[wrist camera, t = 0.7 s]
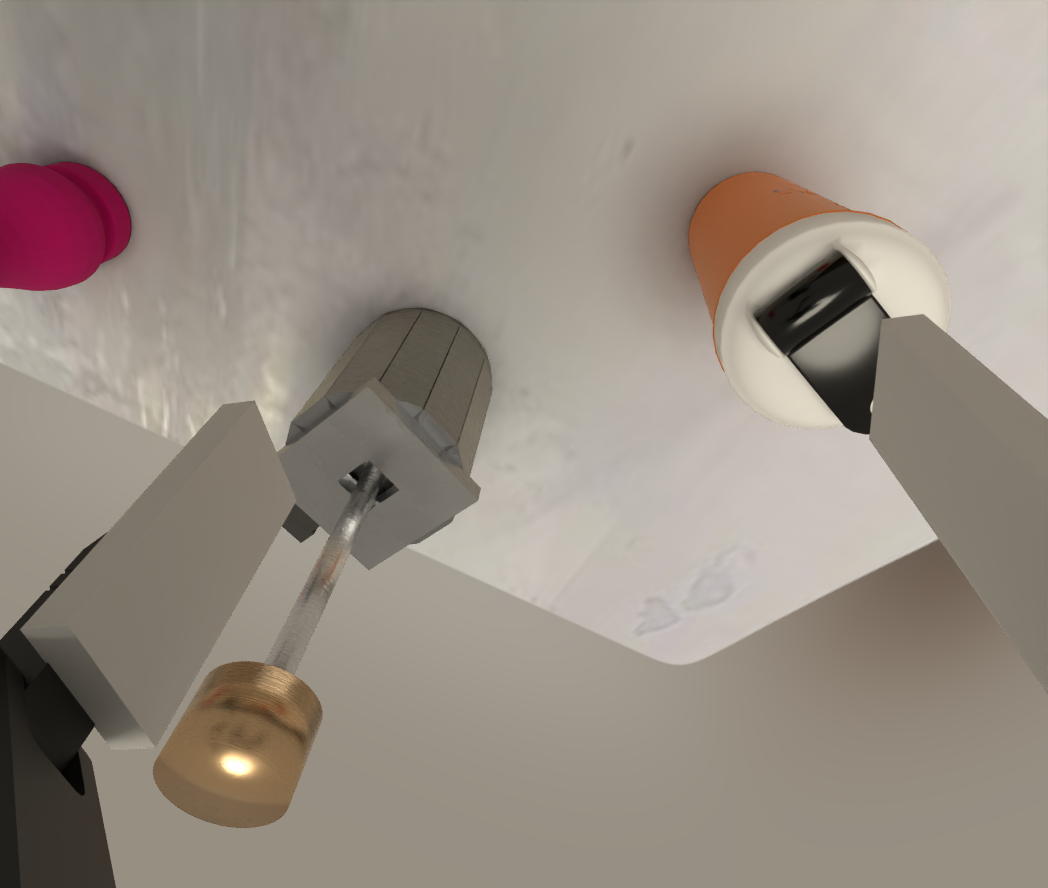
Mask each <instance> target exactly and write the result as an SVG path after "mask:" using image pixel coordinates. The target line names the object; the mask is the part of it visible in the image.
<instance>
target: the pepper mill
mask: <svg viewBox="0 0 1048 888" xmlns="http://www.w3.org/2000/svg"><path fill="white" fill-rule="evenodd" d="M130 234H131V220H130V216H129V213H128V209H127V206H126V204H125V203H124V201H123V199H122V197H121V195H120V194H119V193H118V191H117V190H116V189H115V187H114V186H113V185H112V184H111V183H110V182H109V181H108V180H107V179H106V178H105V177H103V176H102V175H101V174H100V173H98V172H97V171H95V170H93V169H91V168H89V167H87V166H84V165H81V164H78V163H71V162H60V163H55V164H51V165H47V166H39V165H34V164H28V163H16V164H8V165H5V166H2V167H0V288H15V289H23V290H32V291H44V290H58V289H62V288H66V287H69V286H72V285H75V284H78V283H80V282H83V281H85V280H86V279H87V278H89V277H90V276H91V275H92V274H93V273H94V272H95V271H96V270H97V268H98V267H99V266H100V264H101V263H103V262H105V261H108V260H110V259H112V258H114V257H116V256H118V255H119V254H120V253H121V252H122V251H123V250H124V249H125V247H126V246H127V244H128V241H129V238H130Z"/></svg>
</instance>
